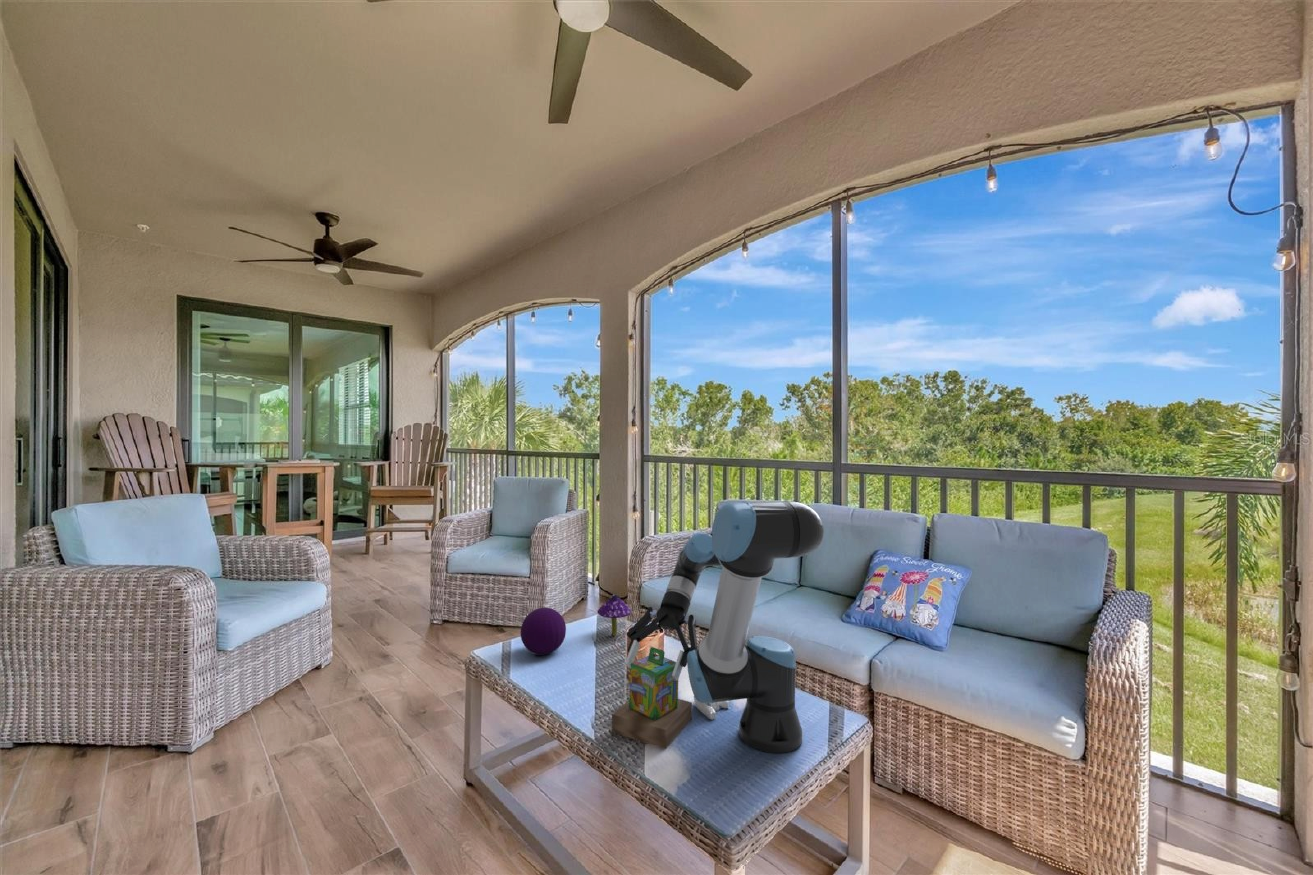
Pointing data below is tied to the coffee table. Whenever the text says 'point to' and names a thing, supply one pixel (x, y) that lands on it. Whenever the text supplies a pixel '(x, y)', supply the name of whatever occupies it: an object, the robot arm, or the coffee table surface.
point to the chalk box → (653, 685)
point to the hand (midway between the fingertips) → (650, 672)
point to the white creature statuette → (710, 707)
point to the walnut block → (652, 724)
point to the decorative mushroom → (614, 611)
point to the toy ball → (543, 631)
